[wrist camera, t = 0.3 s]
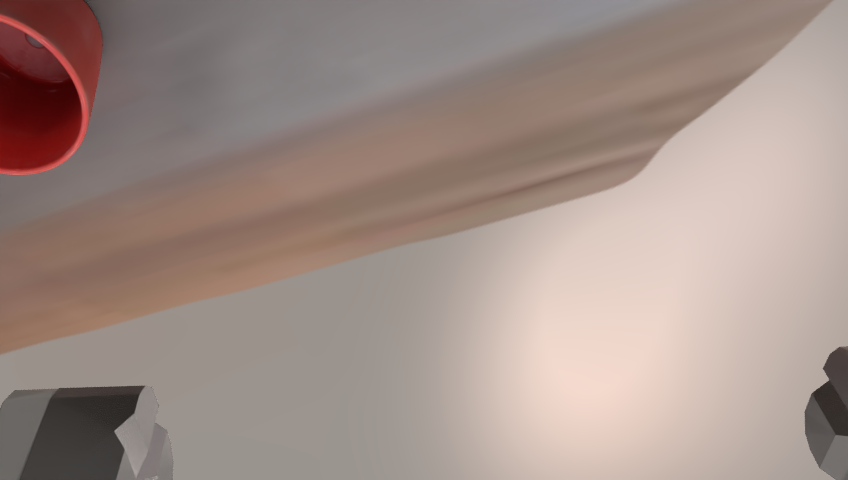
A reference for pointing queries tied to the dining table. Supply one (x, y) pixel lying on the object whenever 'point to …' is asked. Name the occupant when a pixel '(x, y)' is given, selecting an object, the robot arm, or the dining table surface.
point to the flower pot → (45, 81)
